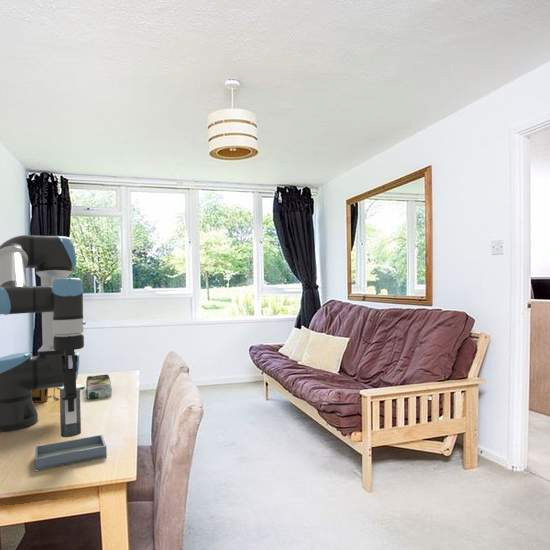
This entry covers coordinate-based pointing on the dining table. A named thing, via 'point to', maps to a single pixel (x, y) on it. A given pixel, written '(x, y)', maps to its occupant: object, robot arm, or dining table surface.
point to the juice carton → (98, 386)
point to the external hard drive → (76, 386)
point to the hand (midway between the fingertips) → (70, 420)
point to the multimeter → (41, 394)
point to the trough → (69, 452)
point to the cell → (66, 429)
